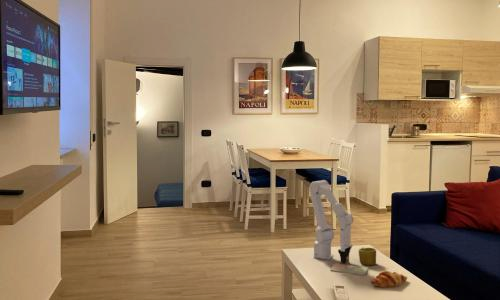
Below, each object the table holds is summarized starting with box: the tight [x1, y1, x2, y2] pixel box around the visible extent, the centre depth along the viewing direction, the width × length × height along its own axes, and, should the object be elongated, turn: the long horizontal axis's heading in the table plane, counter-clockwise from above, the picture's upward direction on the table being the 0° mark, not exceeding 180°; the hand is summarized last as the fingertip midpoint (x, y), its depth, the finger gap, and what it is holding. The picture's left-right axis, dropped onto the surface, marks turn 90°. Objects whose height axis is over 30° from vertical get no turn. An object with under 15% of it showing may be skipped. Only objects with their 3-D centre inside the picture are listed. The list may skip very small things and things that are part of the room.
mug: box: [358, 246, 377, 266], centre depth 257 cm, size 12×10×10 cm
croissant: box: [370, 270, 408, 288], centre depth 227 cm, size 21×10×8 cm, turn 113°
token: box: [339, 255, 350, 265], centre depth 256 cm, size 4×4×4 cm
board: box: [330, 262, 369, 276], centre depth 247 cm, size 18×11×1 cm, turn 68°
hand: (344, 260), depth 256 cm, fingers open, 7 cm apart
